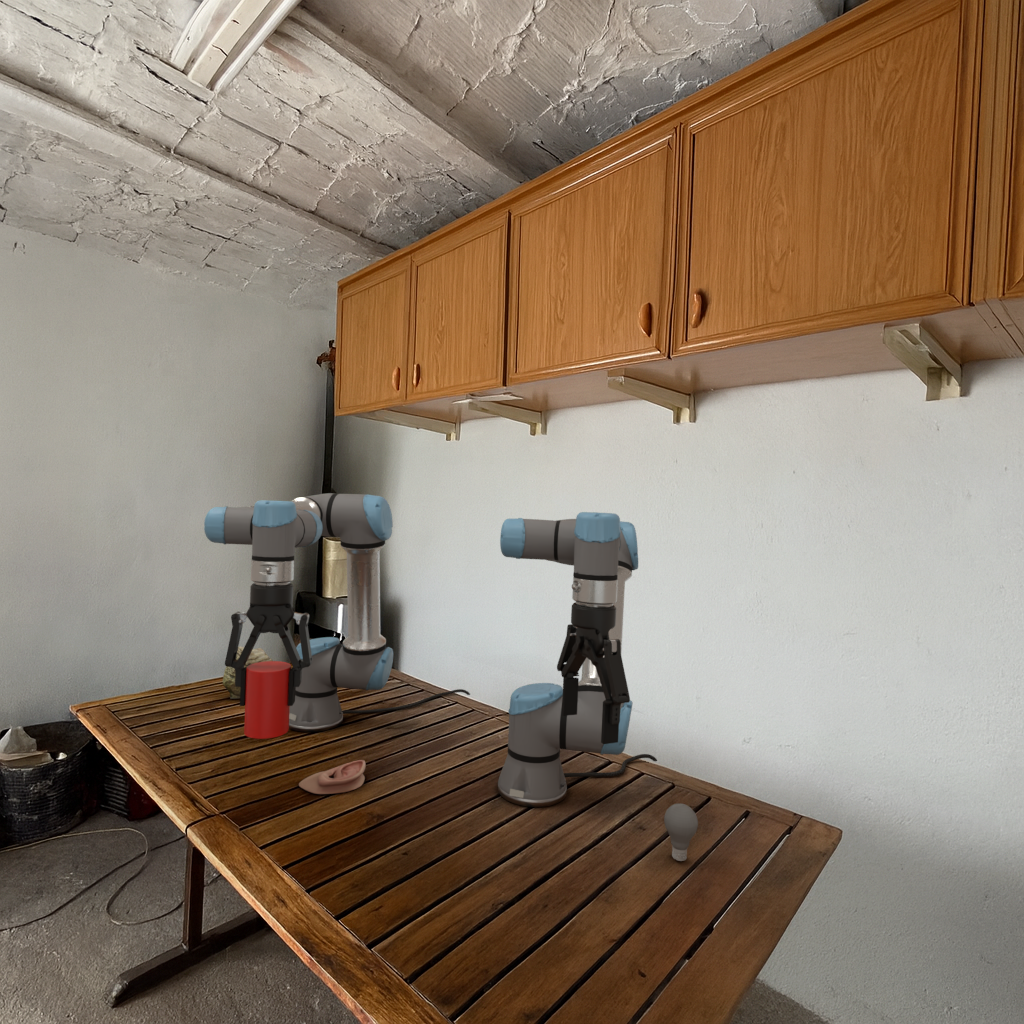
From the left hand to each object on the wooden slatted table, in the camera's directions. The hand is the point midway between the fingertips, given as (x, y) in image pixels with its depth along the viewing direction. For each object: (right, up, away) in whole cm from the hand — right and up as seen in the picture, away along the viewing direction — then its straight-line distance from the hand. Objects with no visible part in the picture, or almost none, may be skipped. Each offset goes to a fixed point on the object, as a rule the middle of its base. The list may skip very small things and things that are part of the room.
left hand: (267, 703), depth 119 cm
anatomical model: (+6, -24, +21) cm, 33 cm away
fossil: (-35, -21, +79) cm, 89 cm away
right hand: (+59, -1, -11) cm, 60 cm away
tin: (0, -5, 0) cm, 5 cm away
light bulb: (+76, -28, -3) cm, 81 cm away
